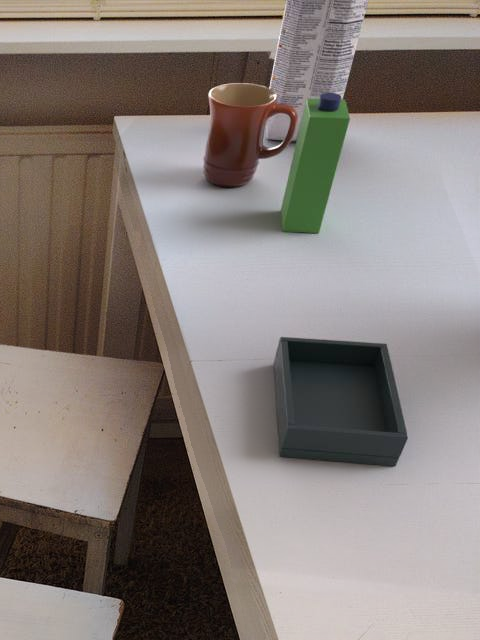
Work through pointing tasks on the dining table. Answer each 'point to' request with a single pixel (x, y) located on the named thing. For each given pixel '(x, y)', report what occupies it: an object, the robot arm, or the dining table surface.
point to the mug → (241, 132)
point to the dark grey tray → (337, 402)
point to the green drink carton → (314, 163)
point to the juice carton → (313, 55)
